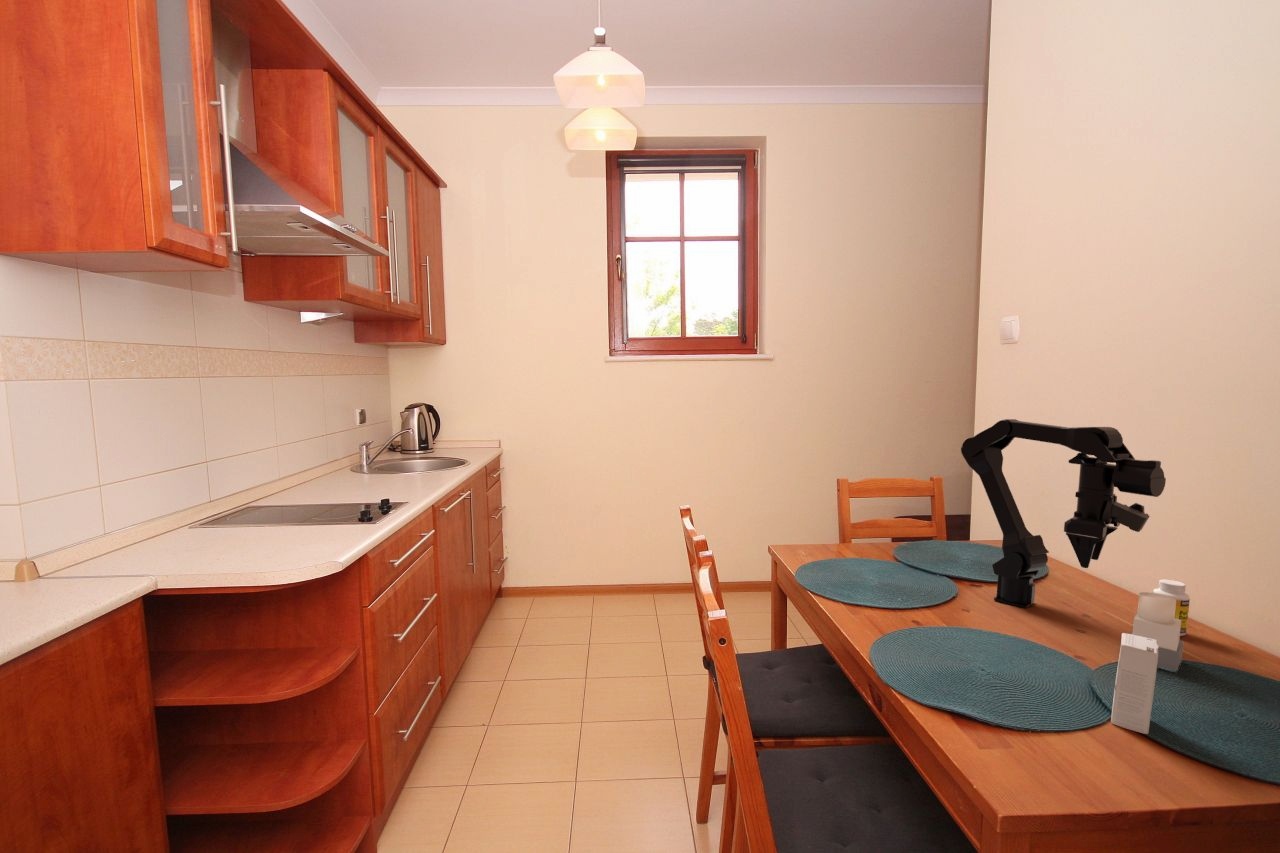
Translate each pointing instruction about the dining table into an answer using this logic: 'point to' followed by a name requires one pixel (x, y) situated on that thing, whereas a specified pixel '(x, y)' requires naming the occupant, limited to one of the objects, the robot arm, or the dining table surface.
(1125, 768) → the dining table surface
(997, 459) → the robot arm
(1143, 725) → the skincare box
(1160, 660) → the tower base
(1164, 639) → the tower top
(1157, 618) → the white rounded cylinder
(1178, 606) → the supplement bottle
